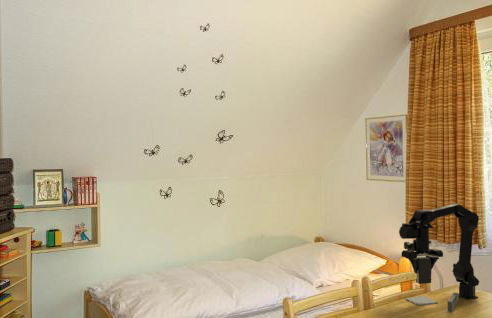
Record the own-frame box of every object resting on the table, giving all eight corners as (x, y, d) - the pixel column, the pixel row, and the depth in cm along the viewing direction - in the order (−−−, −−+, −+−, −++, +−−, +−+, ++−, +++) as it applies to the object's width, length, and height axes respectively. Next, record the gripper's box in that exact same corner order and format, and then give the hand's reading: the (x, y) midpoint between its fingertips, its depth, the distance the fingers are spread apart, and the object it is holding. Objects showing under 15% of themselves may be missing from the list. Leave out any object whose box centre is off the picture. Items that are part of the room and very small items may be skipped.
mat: (423, 297, 195) (423, 296, 195) (437, 303, 186) (437, 301, 186) (405, 299, 192) (405, 298, 192) (419, 305, 183) (419, 304, 183)
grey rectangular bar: (453, 301, 188) (453, 292, 188) (458, 302, 187) (458, 293, 187) (446, 310, 176) (446, 301, 176) (452, 311, 175) (452, 302, 175)
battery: (426, 281, 192) (426, 256, 192) (432, 283, 188) (431, 257, 189) (413, 282, 190) (413, 257, 191) (418, 284, 187) (418, 258, 187)
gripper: (426, 234, 200) (426, 267, 200) (393, 236, 195) (393, 270, 194) (444, 238, 190) (444, 273, 189) (409, 240, 184) (410, 275, 184)
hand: (422, 272), depth 189 cm, fingers closed on battery, 7 cm apart
